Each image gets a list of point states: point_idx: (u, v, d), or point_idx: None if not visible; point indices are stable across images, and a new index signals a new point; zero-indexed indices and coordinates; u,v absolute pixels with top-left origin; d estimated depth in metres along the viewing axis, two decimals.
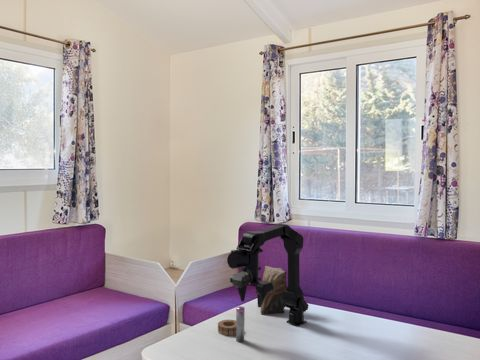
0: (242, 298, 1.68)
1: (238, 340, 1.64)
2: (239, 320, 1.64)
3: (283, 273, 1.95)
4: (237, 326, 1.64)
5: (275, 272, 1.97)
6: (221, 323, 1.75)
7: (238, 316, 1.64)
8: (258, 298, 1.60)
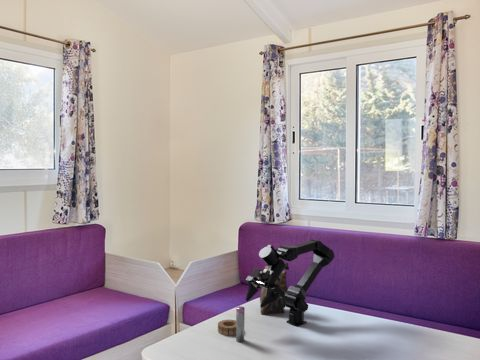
0: (247, 297, 1.73)
1: (238, 340, 1.64)
2: (239, 320, 1.64)
3: (283, 273, 1.95)
4: (237, 326, 1.64)
5: None
6: (221, 323, 1.75)
7: (238, 316, 1.64)
8: (265, 297, 1.66)
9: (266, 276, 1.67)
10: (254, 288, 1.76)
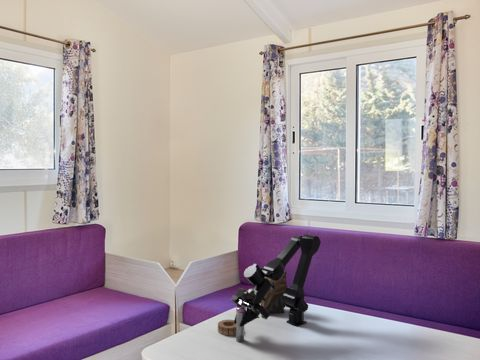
0: None
1: (238, 340, 1.64)
2: (239, 320, 1.64)
3: (283, 273, 1.95)
4: (237, 326, 1.64)
5: None
6: (221, 323, 1.75)
7: (238, 316, 1.64)
8: (245, 316, 1.64)
9: (250, 296, 1.63)
10: None
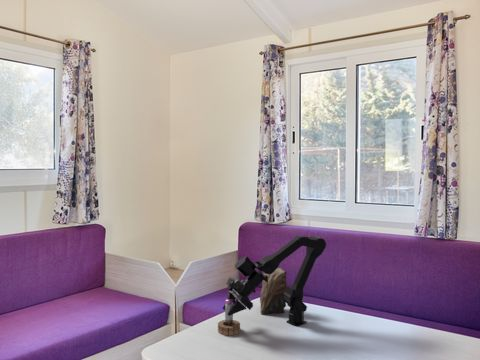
0: None
1: None
2: (227, 311, 1.73)
3: (283, 273, 1.95)
4: (225, 317, 1.74)
5: (275, 272, 1.97)
6: (221, 323, 1.75)
7: (225, 308, 1.74)
8: (233, 306, 1.71)
9: (236, 286, 1.71)
10: (233, 298, 1.79)
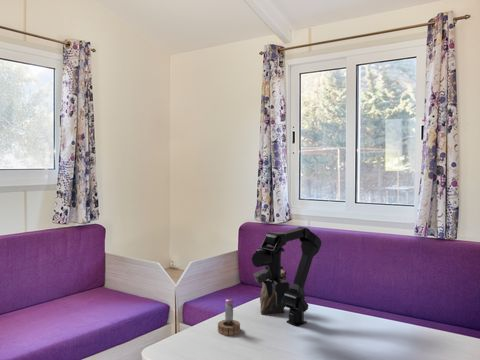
0: (268, 294, 1.78)
1: None
2: (227, 311, 1.73)
3: (283, 273, 1.95)
4: (225, 317, 1.74)
5: None
6: (221, 323, 1.75)
7: (226, 308, 1.74)
8: (276, 295, 1.68)
9: (264, 279, 1.68)
10: (270, 282, 1.79)
